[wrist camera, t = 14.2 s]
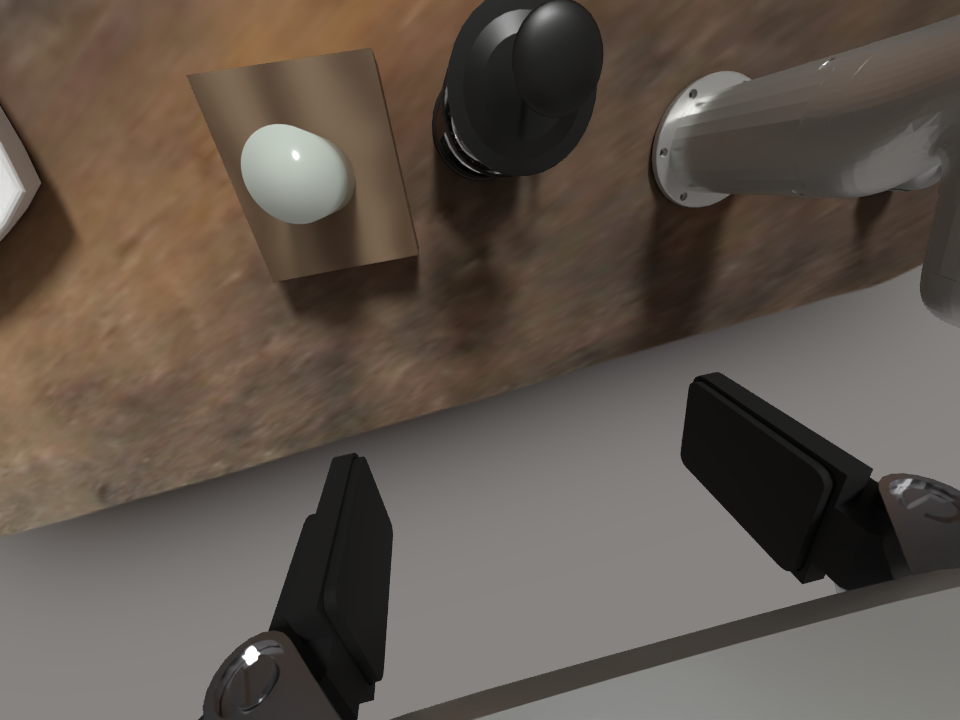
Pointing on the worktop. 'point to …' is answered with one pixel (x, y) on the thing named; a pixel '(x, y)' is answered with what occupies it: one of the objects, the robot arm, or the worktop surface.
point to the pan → (14, 177)
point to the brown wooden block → (332, 115)
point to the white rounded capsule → (296, 174)
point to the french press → (518, 88)
